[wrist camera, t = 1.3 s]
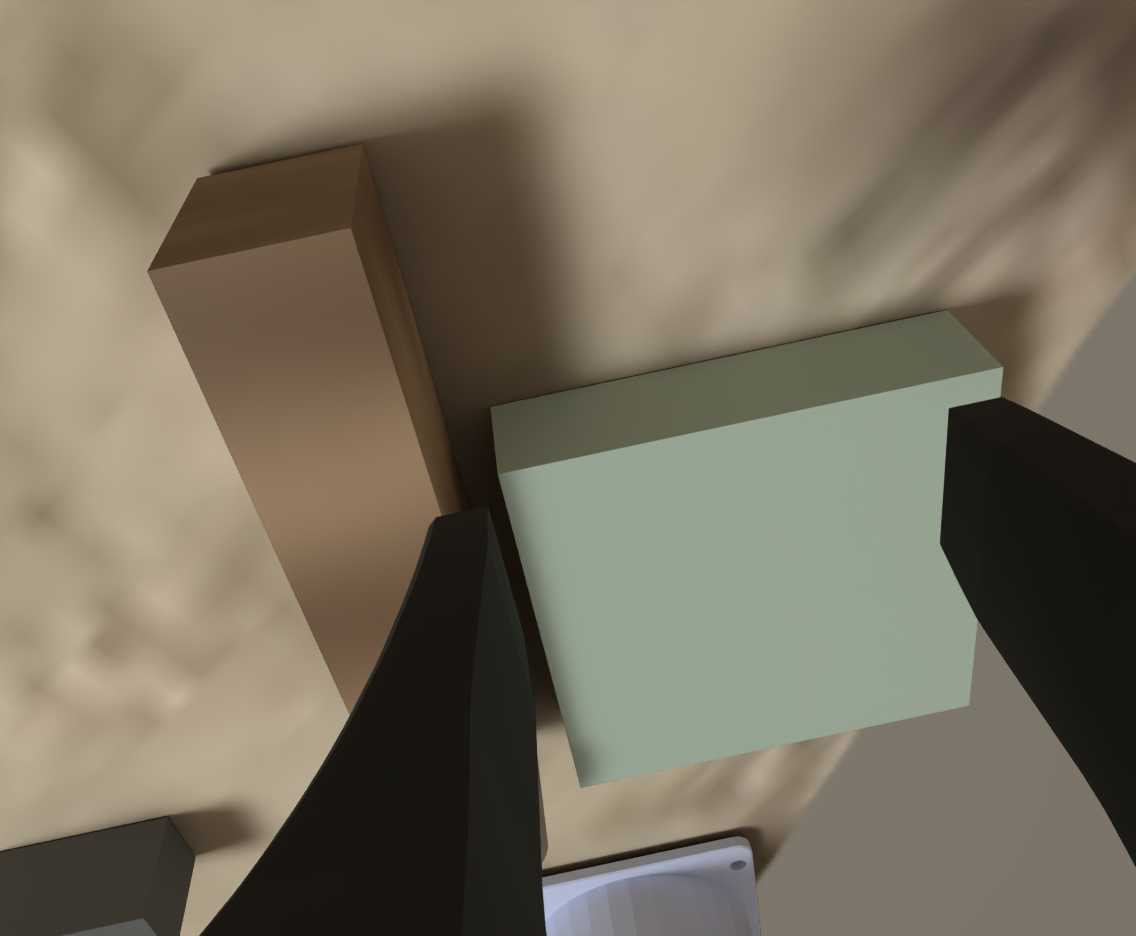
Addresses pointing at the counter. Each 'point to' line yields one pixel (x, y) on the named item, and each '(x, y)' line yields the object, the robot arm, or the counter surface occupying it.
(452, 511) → the folding leg
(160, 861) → the leg stop
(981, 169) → the counter surface
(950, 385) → the stool seat
